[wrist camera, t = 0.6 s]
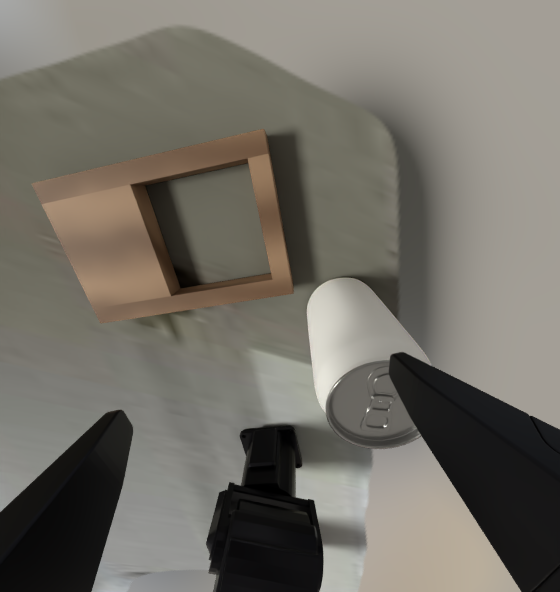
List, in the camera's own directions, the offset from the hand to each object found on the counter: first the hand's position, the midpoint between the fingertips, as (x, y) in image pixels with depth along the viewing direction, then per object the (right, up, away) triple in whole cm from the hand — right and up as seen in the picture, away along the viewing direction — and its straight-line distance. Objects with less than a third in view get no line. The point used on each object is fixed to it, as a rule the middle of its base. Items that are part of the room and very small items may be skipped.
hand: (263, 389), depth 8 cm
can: (+6, +2, +15) cm, 17 cm away
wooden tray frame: (-8, +8, +13) cm, 18 cm away
